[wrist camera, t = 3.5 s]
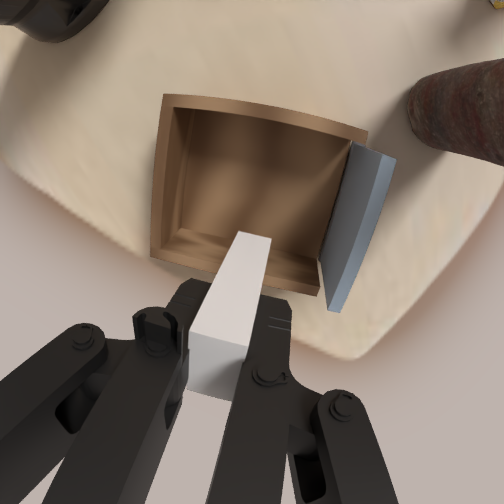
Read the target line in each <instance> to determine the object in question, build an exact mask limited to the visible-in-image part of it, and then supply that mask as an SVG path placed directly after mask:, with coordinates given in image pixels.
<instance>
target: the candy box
mask: <svg viewBox="0 0 504 504" xmlns="http://www.w3.org/2000/svg"><path fill="white" fill-rule="evenodd" d="M489 1H490V2H491V3H492V5H493V6H494V7H495V9H499V8H503V7H504V0H489Z"/></svg>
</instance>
